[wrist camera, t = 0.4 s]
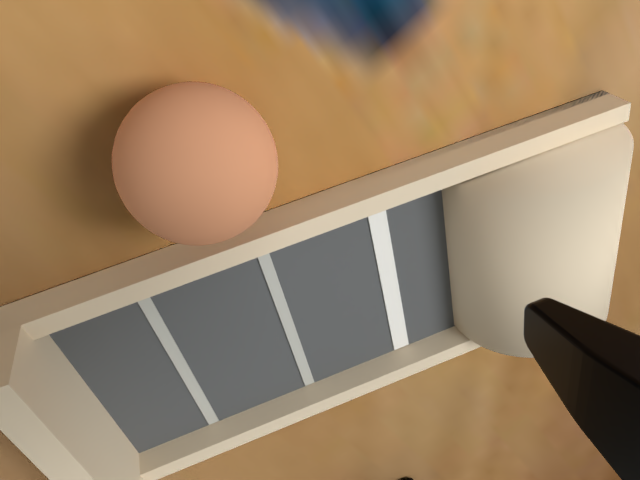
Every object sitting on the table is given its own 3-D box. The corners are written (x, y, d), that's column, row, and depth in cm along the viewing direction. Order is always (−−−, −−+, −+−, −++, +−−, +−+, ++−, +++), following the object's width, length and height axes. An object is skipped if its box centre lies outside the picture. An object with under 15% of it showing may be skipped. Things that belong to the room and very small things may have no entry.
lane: (542, 243, 33) (644, 331, 26) (121, 408, 30) (122, 553, 23) (549, 67, 26) (688, 127, 20) (9, 255, 23) (-31, 399, 17)
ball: (275, 172, 21) (313, 242, 17) (148, 216, 20) (156, 300, 16) (235, 41, 18) (270, 89, 14) (84, 89, 17) (74, 154, 13)
